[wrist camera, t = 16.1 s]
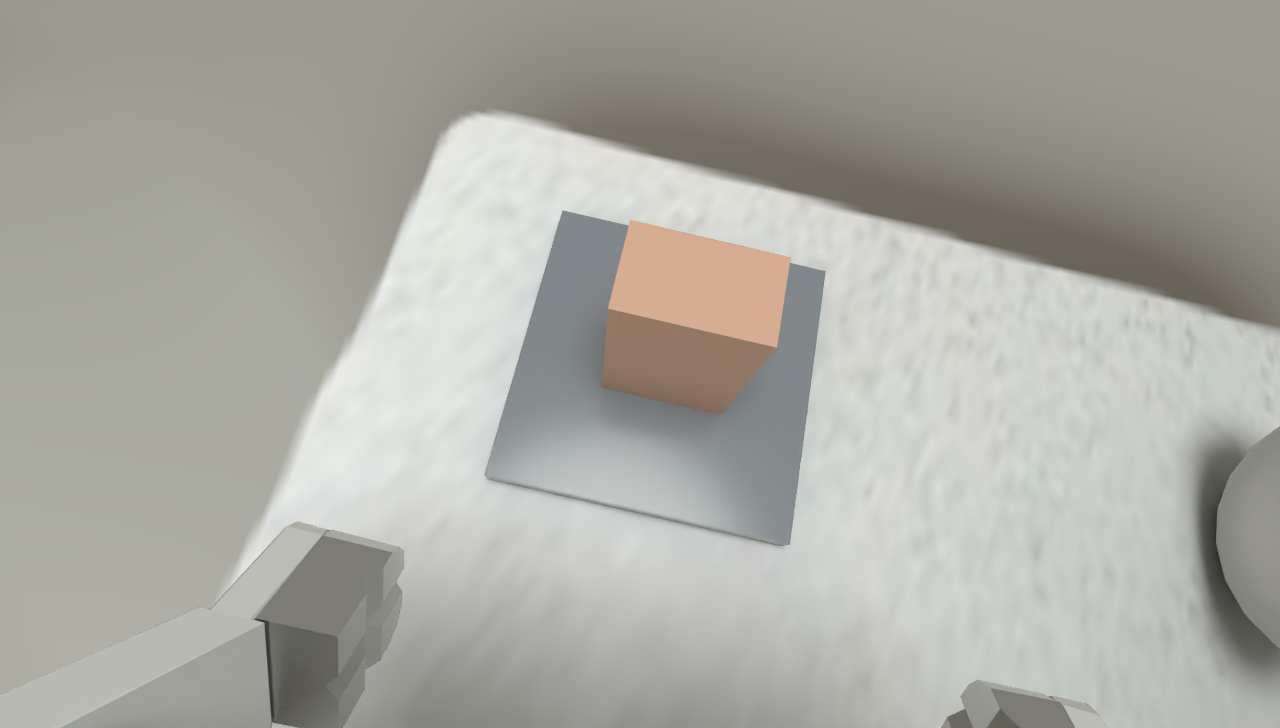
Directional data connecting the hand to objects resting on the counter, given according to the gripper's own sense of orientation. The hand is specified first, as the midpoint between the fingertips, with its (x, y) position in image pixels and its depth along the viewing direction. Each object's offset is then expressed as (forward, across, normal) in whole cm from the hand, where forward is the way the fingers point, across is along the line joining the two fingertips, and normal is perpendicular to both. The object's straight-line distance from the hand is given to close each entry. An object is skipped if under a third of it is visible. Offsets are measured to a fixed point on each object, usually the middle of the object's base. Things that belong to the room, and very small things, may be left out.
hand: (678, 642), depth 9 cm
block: (+17, 0, +4) cm, 18 cm away
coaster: (+18, 0, +5) cm, 19 cm away
